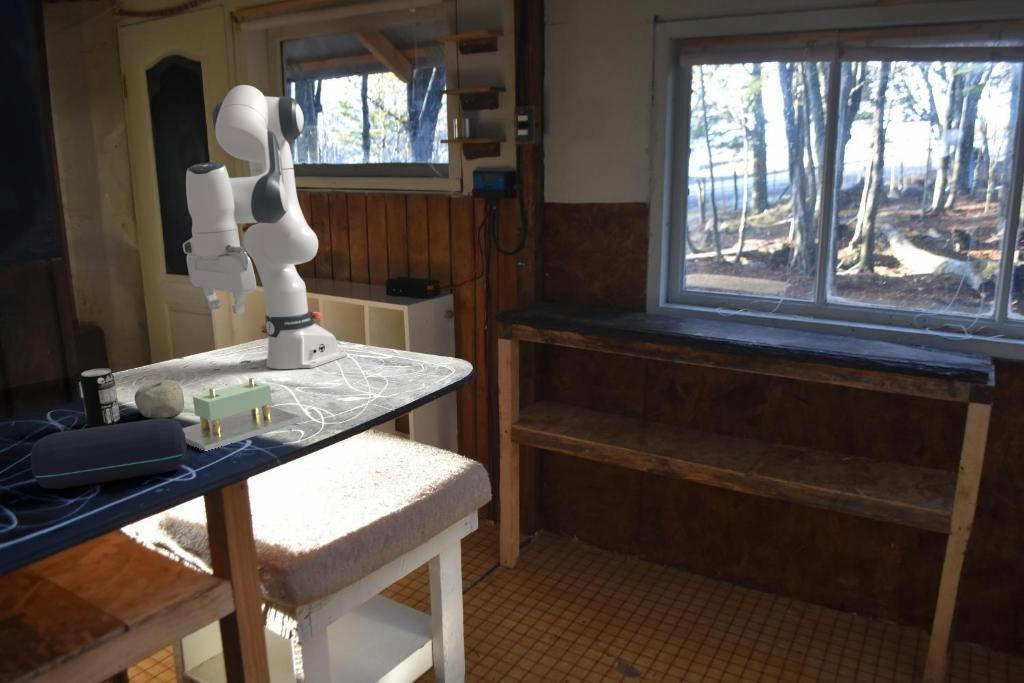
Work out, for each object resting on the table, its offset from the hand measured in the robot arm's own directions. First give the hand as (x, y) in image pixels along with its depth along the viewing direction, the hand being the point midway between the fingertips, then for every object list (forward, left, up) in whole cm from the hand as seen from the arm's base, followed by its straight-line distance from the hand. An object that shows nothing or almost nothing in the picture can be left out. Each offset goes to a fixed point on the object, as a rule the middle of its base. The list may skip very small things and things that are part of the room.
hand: (226, 310), depth 165 cm
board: (+2, +2, -21) cm, 21 cm away
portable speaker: (+30, +8, -25) cm, 40 cm away
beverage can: (+18, -26, -25) cm, 41 cm away
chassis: (+2, +2, -25) cm, 25 cm away
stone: (+7, -22, -25) cm, 34 cm away
